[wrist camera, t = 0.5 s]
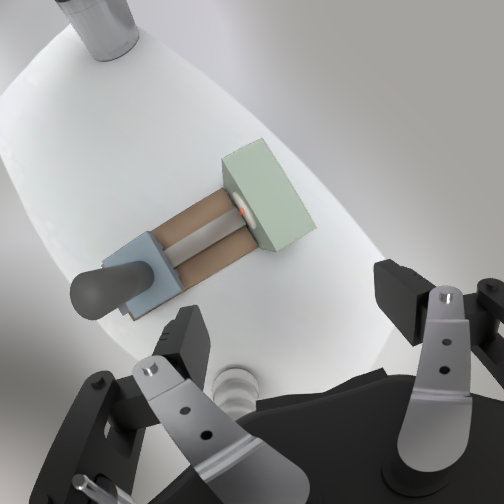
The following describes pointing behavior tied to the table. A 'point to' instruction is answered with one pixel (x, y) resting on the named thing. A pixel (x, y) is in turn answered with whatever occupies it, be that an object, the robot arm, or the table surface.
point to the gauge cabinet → (265, 196)
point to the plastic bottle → (235, 392)
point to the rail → (213, 252)
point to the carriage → (127, 280)
